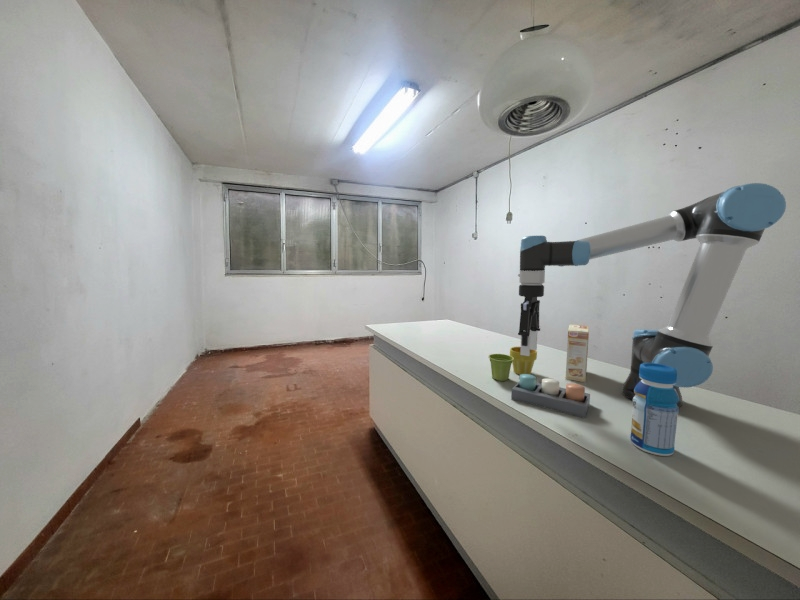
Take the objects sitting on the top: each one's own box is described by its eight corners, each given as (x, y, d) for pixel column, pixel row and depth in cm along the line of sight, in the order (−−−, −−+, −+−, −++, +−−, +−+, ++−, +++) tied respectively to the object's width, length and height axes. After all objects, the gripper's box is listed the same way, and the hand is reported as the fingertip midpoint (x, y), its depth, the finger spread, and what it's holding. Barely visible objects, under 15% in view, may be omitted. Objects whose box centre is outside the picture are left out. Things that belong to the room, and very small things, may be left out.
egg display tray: (589, 404, 95) (590, 393, 95) (585, 418, 86) (585, 406, 86) (521, 388, 108) (521, 379, 108) (511, 399, 99) (511, 388, 99)
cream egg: (560, 393, 97) (560, 380, 97) (556, 399, 93) (557, 385, 93) (543, 389, 100) (543, 377, 100) (539, 394, 97) (540, 381, 96)
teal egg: (537, 388, 102) (537, 376, 101) (533, 393, 98) (533, 380, 97) (521, 385, 105) (522, 372, 104) (517, 389, 101) (517, 377, 100)
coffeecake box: (586, 382, 113) (589, 332, 111) (564, 379, 117) (567, 330, 115) (586, 371, 126) (589, 325, 124) (566, 368, 129) (569, 323, 127)
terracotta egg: (585, 399, 93) (585, 385, 93) (582, 405, 89) (583, 390, 89) (566, 395, 96) (567, 382, 96) (564, 400, 92) (564, 386, 92)
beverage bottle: (662, 461, 67) (670, 375, 65) (621, 441, 75) (627, 364, 73) (682, 452, 70) (690, 369, 68) (641, 434, 78) (647, 359, 76)
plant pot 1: (509, 374, 122) (510, 353, 121) (516, 383, 113) (516, 361, 112) (486, 373, 123) (486, 353, 122) (490, 382, 114) (491, 360, 113)
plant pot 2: (540, 377, 119) (541, 353, 118) (514, 377, 119) (515, 353, 118) (529, 368, 130) (530, 346, 128) (505, 368, 130) (506, 346, 129)
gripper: (528, 282, 108) (525, 344, 110) (509, 285, 92) (506, 357, 94) (551, 283, 103) (548, 347, 106) (535, 286, 87) (532, 362, 90)
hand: (528, 352), depth 100 cm, fingers open, 8 cm apart
